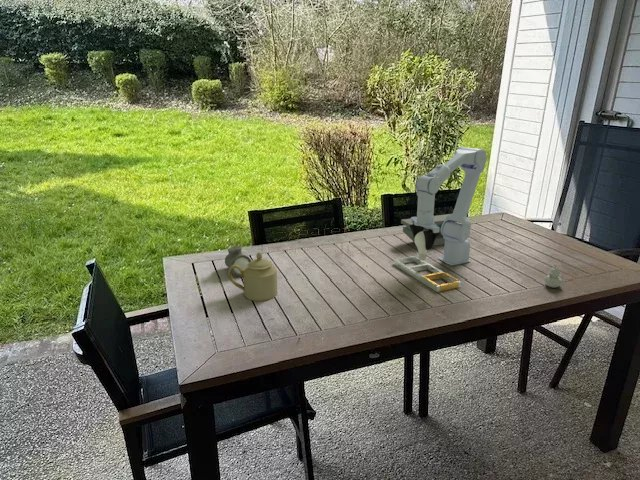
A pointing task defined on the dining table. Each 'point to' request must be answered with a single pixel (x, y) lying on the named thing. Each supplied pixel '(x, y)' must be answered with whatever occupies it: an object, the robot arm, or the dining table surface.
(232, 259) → the pipe fitting
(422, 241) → the lightbulb
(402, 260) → the rack
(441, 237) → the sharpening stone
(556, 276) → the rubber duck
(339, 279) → the dining table surface
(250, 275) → the sugar bowl
